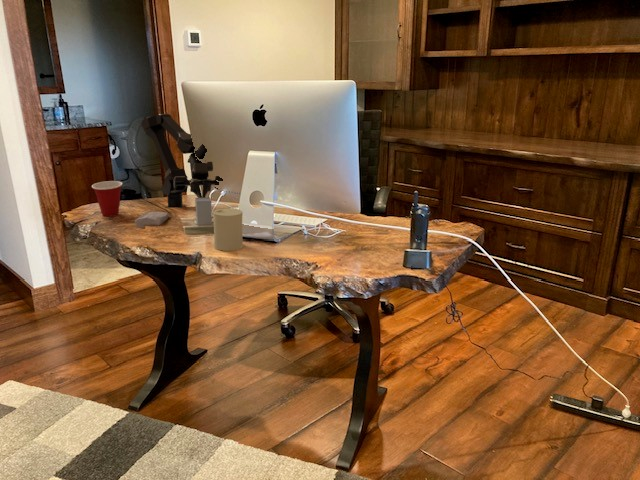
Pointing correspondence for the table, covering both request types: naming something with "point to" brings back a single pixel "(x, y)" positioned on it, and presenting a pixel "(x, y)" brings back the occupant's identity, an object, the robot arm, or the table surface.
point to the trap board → (197, 227)
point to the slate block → (203, 211)
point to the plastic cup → (108, 196)
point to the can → (228, 229)
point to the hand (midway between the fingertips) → (202, 202)
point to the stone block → (151, 219)
